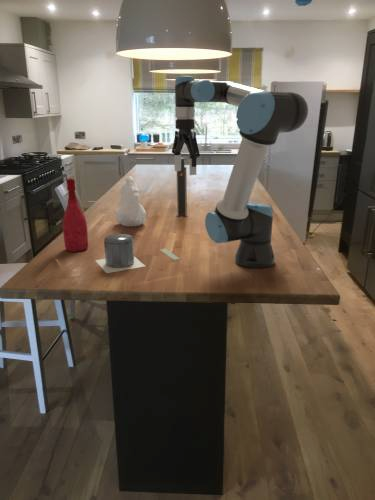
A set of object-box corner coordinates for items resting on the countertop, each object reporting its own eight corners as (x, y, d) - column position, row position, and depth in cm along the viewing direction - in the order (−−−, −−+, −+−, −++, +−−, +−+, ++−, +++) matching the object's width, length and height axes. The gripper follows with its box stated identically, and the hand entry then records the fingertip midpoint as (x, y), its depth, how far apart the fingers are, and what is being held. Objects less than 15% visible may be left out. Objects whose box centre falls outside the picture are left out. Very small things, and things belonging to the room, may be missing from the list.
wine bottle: (69, 245, 178) (62, 176, 169) (91, 245, 178) (85, 176, 168) (61, 252, 169) (54, 180, 159) (85, 252, 169) (79, 180, 159)
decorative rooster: (116, 221, 219) (113, 174, 211) (145, 220, 221) (144, 174, 213) (114, 233, 195) (111, 182, 187) (147, 232, 197) (145, 181, 189)
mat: (180, 260, 160) (180, 258, 160) (147, 265, 154) (146, 264, 154) (165, 250, 172) (165, 248, 172) (134, 255, 166) (134, 253, 166)
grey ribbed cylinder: (137, 265, 152) (136, 239, 149) (110, 269, 147) (109, 243, 144) (128, 256, 161) (127, 232, 157) (102, 261, 156) (101, 236, 153)
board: (145, 268, 151) (145, 266, 151) (106, 275, 145) (106, 273, 144) (132, 256, 164) (131, 254, 163) (95, 262, 157) (95, 260, 157)
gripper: (209, 118, 151) (208, 176, 158) (179, 118, 172) (180, 168, 179) (191, 119, 148) (191, 177, 155) (163, 118, 169) (164, 169, 176)
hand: (185, 172), depth 167 cm, fingers open, 13 cm apart
